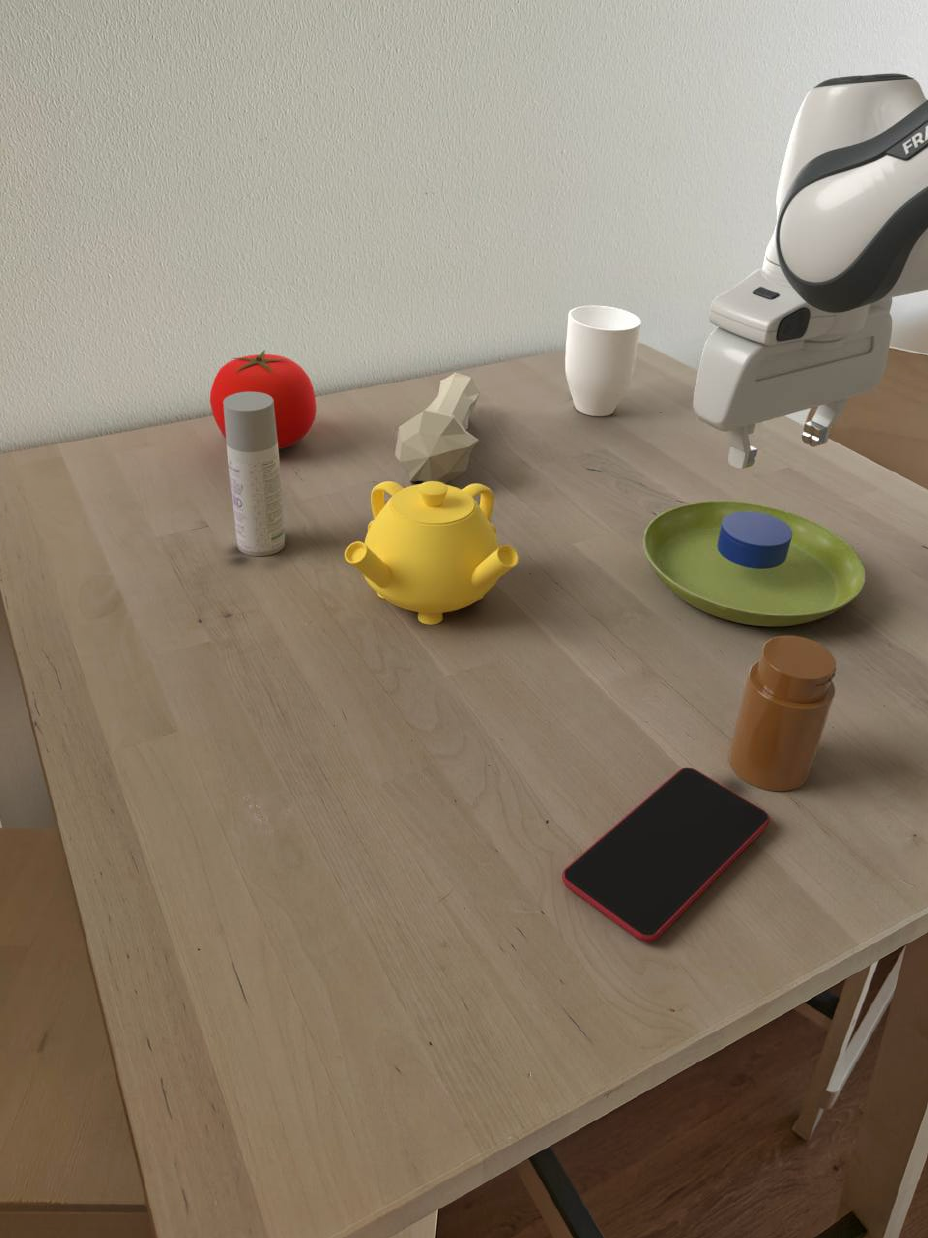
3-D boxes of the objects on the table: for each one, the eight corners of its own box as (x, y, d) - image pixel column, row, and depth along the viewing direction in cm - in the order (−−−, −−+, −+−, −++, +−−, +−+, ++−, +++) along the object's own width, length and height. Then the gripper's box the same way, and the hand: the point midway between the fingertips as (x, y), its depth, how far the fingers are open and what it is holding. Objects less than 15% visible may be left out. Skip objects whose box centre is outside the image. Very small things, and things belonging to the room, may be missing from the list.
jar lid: (702, 545, 96) (707, 523, 95) (745, 526, 100) (750, 504, 98) (757, 576, 92) (762, 553, 91) (800, 555, 95) (806, 532, 94)
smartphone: (556, 875, 65) (686, 763, 74) (555, 884, 66) (684, 772, 75) (649, 943, 61) (775, 815, 70) (647, 952, 62) (772, 824, 71)
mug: (620, 427, 125) (633, 332, 119) (551, 415, 128) (560, 321, 121) (638, 393, 135) (651, 304, 128) (574, 383, 137) (583, 294, 130)
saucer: (767, 673, 86) (775, 642, 84) (594, 567, 98) (598, 538, 96) (899, 593, 97) (909, 565, 95) (728, 507, 109) (734, 480, 108)
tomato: (288, 415, 125) (283, 332, 119) (335, 451, 117) (332, 364, 111) (197, 436, 119) (187, 350, 113) (240, 475, 111) (232, 385, 105)
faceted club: (378, 484, 109) (420, 403, 129) (452, 512, 109) (483, 427, 130) (401, 411, 104) (441, 339, 125) (478, 440, 104) (506, 364, 125)
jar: (825, 769, 76) (861, 662, 70) (775, 803, 73) (808, 694, 67) (761, 726, 80) (790, 621, 74) (711, 757, 77) (737, 650, 71)
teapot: (346, 639, 87) (342, 526, 81) (356, 556, 98) (354, 451, 92) (512, 643, 88) (522, 531, 81) (504, 560, 99) (512, 456, 92)
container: (227, 549, 98) (211, 404, 90) (255, 527, 102) (241, 387, 93) (267, 561, 97) (255, 415, 88) (294, 539, 100) (284, 397, 92)
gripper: (865, 271, 89) (827, 418, 97) (695, 304, 79) (669, 464, 87) (926, 290, 84) (882, 442, 92) (755, 328, 75) (722, 494, 83)
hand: (777, 454), depth 90 cm, fingers open, 8 cm apart
